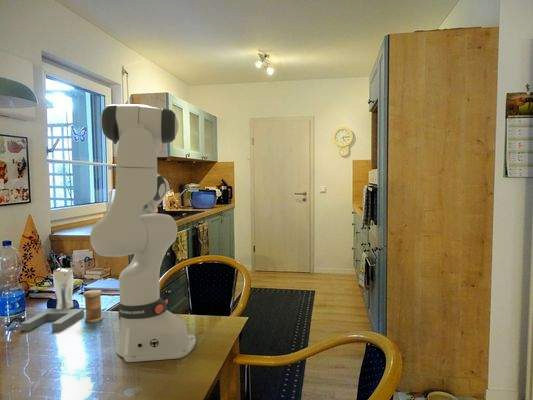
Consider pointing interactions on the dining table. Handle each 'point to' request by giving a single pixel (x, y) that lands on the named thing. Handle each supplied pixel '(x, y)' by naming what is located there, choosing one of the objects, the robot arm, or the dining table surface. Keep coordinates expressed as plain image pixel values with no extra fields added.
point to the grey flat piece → (54, 318)
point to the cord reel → (93, 306)
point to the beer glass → (63, 287)
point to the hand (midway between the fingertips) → (120, 239)
